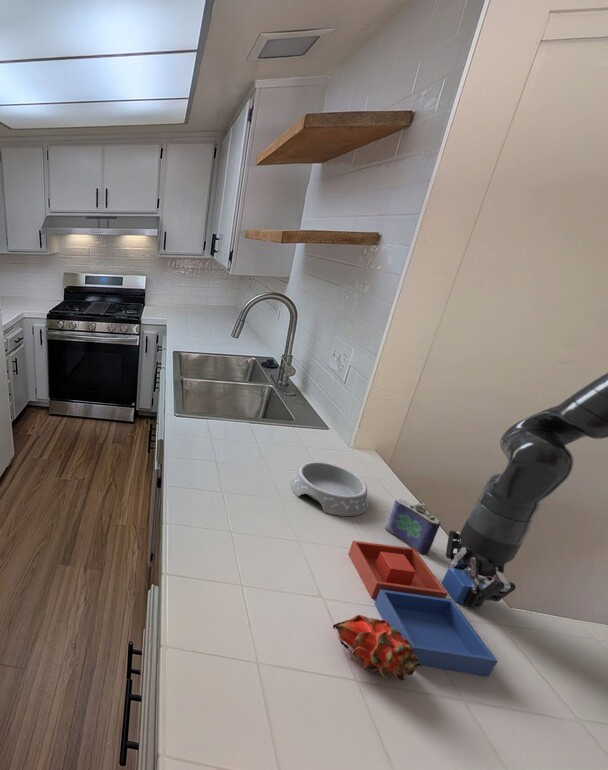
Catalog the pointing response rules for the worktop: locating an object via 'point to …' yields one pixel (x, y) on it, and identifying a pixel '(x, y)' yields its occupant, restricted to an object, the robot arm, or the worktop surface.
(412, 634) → the blue bin
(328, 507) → the dog bowl
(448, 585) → the blue block
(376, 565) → the red block
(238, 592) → the worktop surface
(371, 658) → the dragon fruit
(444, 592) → the red bin
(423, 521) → the flask
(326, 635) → the worktop surface
